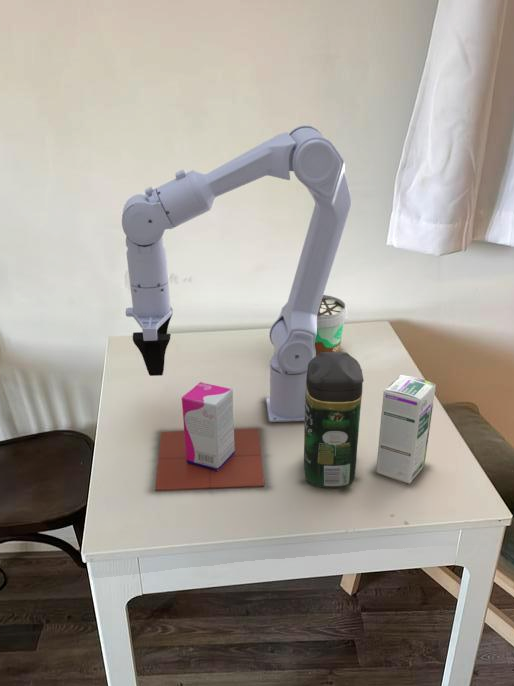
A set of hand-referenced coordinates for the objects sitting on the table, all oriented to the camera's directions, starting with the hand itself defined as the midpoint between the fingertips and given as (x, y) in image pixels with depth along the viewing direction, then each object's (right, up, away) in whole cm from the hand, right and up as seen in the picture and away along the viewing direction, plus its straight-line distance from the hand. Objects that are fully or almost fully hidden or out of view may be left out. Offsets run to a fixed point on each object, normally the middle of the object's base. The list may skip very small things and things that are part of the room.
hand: (157, 363), depth 112 cm
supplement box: (+9, -16, -4) cm, 18 cm away
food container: (+30, +6, +27) cm, 41 cm away
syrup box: (+38, -17, -6) cm, 42 cm away
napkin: (+9, -15, -4) cm, 18 cm away
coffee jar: (+27, -18, -6) cm, 33 cm away
